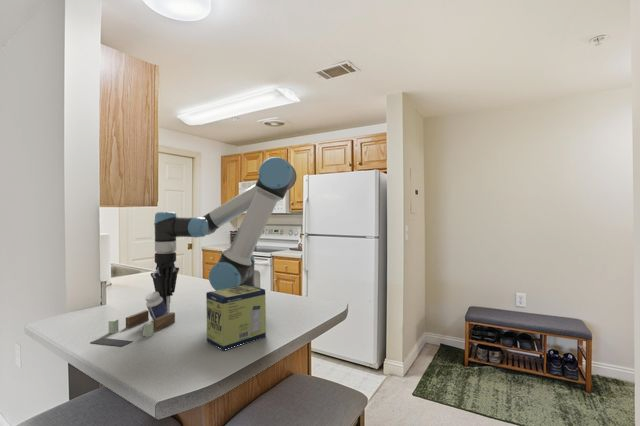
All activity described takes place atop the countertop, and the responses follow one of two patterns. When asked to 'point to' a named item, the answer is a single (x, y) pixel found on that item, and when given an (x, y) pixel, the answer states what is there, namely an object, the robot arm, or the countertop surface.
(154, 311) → the pill bottle
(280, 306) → the countertop surface
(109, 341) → the mat
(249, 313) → the protein box
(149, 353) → the countertop surface
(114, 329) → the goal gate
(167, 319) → the lane
